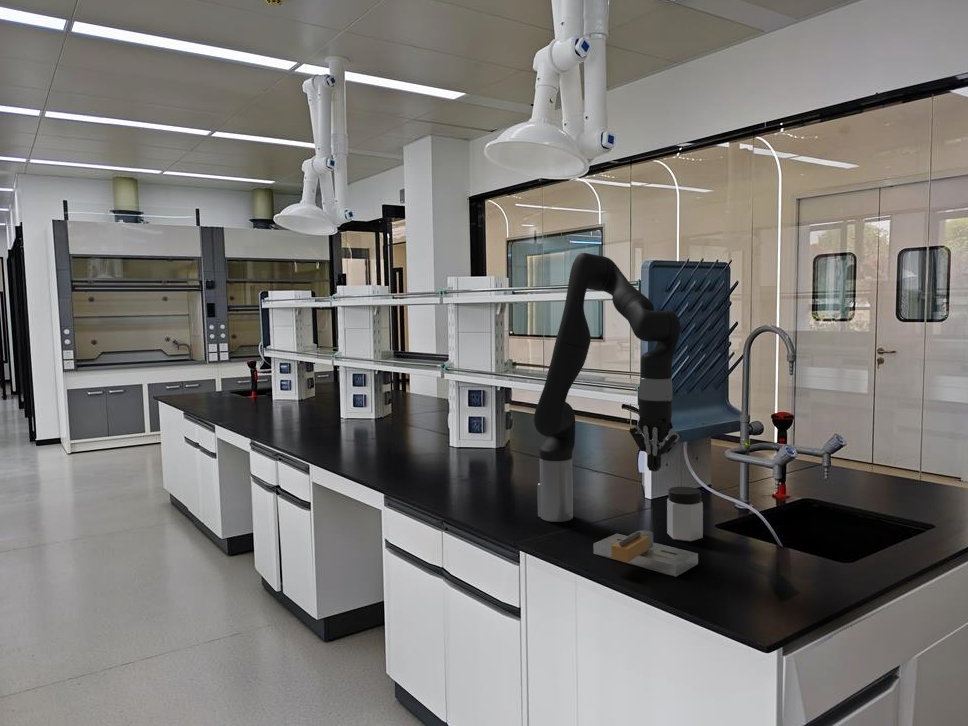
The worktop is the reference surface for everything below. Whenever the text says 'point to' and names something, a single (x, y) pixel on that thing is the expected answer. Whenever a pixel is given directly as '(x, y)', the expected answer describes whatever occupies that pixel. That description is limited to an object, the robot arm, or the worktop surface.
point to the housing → (653, 556)
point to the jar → (685, 513)
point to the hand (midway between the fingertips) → (653, 470)
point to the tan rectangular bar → (632, 546)
